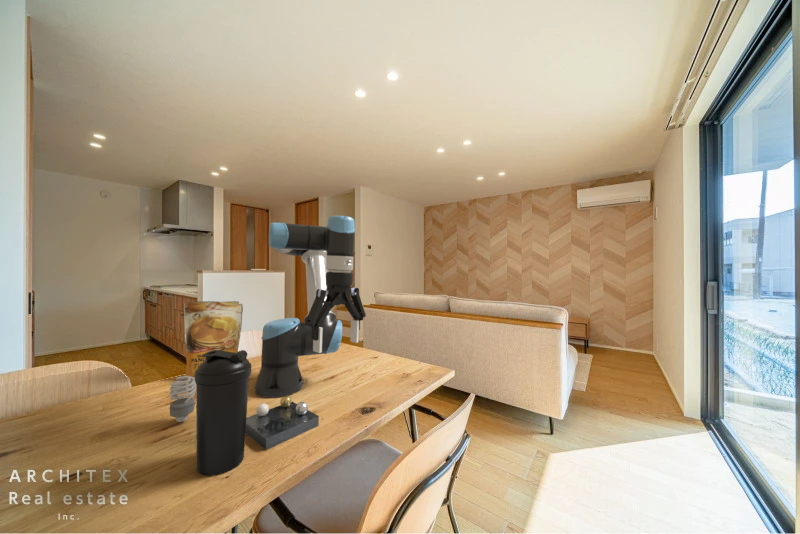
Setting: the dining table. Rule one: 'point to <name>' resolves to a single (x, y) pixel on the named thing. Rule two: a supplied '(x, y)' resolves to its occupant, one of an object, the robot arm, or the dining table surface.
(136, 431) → the dining table surface
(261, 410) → the white plastic ball
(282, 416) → the plate
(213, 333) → the pancake mix bag
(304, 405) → the steel ball
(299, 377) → the robot arm
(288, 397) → the brass ball
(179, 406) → the light bulb
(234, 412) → the water bottle
